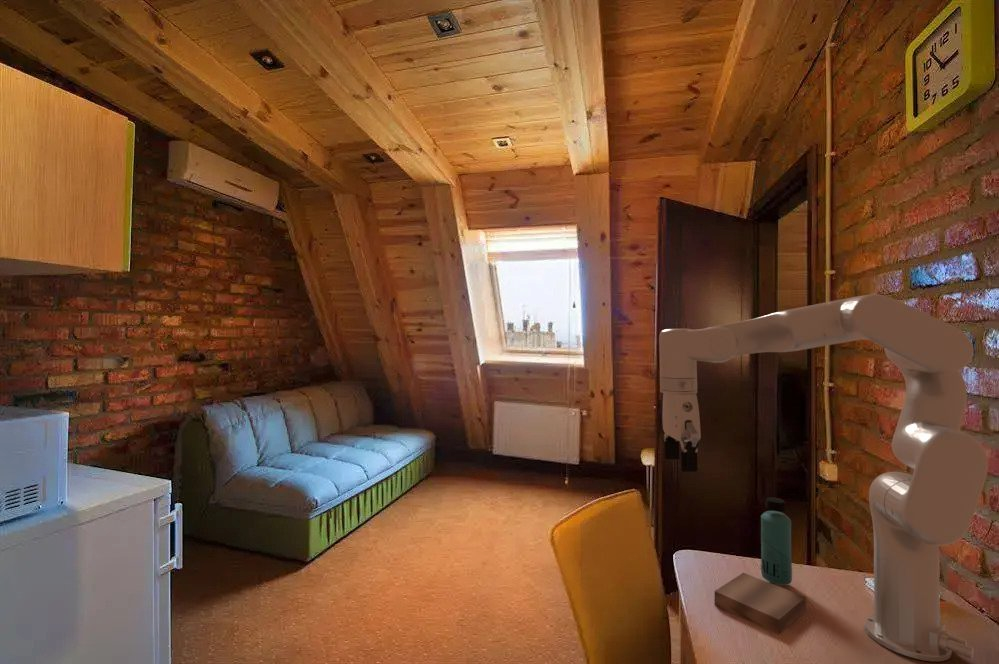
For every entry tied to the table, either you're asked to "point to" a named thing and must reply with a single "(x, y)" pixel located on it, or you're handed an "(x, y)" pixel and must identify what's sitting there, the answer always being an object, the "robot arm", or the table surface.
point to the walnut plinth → (761, 602)
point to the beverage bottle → (776, 543)
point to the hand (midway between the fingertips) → (680, 464)
